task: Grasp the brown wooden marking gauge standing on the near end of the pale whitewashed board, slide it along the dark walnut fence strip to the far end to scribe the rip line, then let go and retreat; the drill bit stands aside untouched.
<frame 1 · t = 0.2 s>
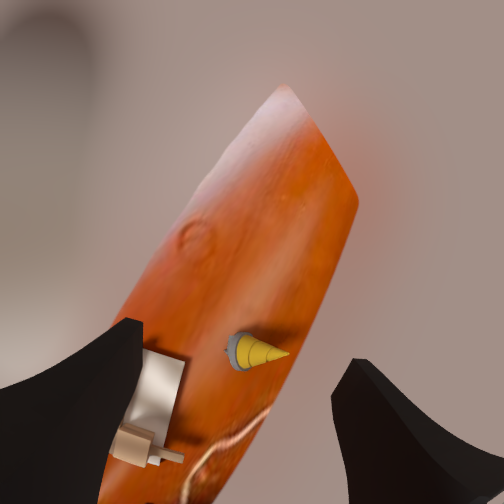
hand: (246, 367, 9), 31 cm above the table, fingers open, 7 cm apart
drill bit: (246, 350, 39), on the table
gauge: (137, 440, 29), point 1 cm above the table, touching board
board: (146, 407, 32), on the table
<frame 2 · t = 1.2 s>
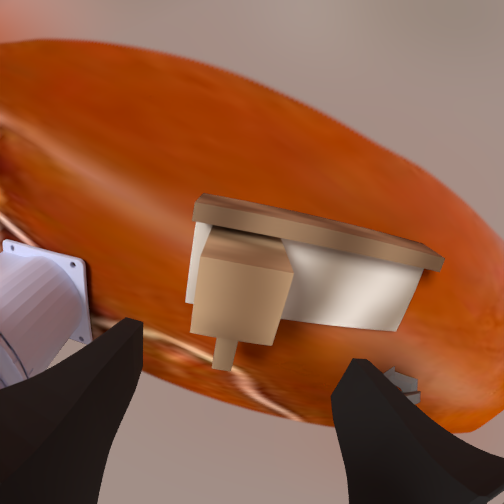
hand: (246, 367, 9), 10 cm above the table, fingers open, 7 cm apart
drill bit: (385, 387, 24), on the table
gauge: (240, 262, 17), point 1 cm above the table, touching board
board: (314, 268, 19), on the table
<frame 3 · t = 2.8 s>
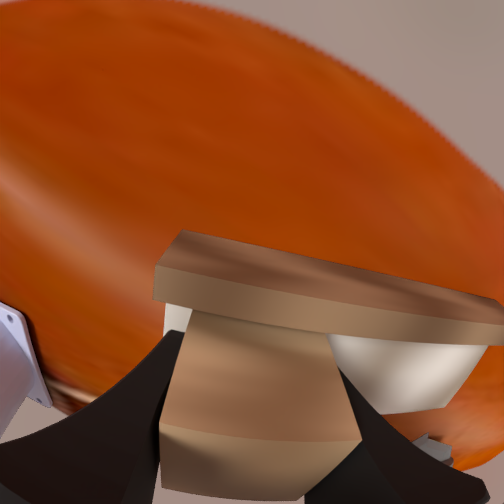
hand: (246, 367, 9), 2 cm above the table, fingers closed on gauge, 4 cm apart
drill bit: (411, 450, 16), on the table
gauge: (246, 350, 10), point 1 cm above the table, touching board, gripper
board: (358, 346, 11), on the table
when the fingers open (2 cm above the table, at t = 6.7 s): gauge stays where it is, resting on board.
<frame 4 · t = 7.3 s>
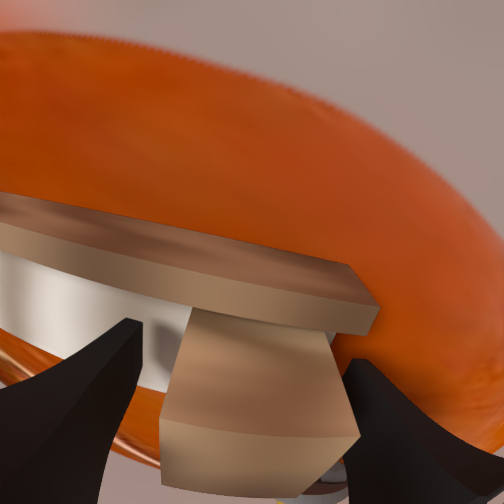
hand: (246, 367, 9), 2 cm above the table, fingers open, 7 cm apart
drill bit: (307, 461, 16), on the table
gauge: (245, 348, 10), point 1 cm above the table, touching board
board: (125, 301, 10), on the table
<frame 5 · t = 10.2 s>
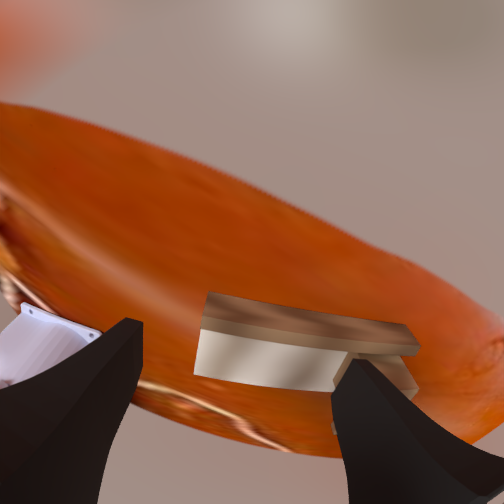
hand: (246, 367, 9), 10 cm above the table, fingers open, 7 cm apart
gauge: (363, 364, 20), point 1 cm above the table, touching board
board: (304, 349, 21), on the table
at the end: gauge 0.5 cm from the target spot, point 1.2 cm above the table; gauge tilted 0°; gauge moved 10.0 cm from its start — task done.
